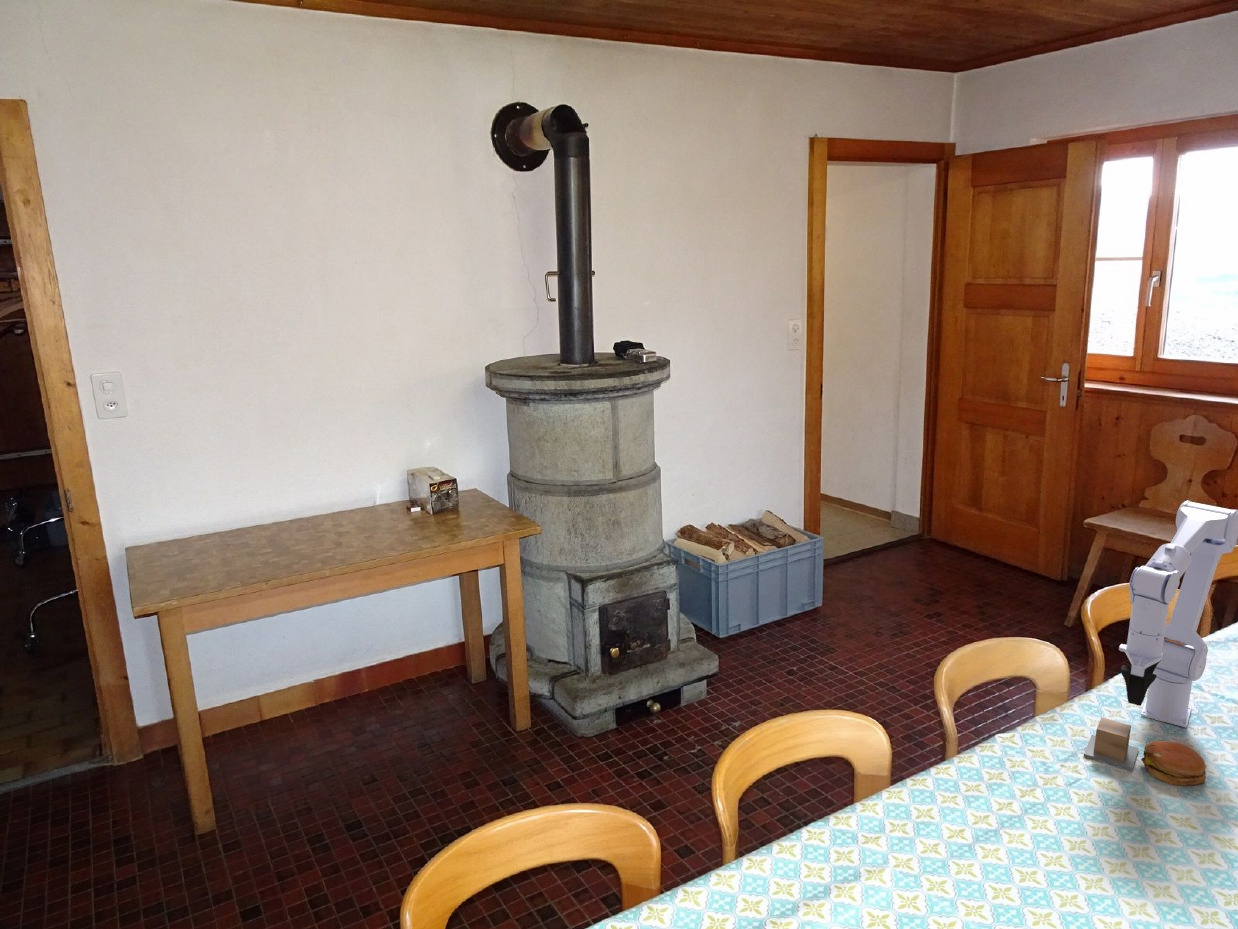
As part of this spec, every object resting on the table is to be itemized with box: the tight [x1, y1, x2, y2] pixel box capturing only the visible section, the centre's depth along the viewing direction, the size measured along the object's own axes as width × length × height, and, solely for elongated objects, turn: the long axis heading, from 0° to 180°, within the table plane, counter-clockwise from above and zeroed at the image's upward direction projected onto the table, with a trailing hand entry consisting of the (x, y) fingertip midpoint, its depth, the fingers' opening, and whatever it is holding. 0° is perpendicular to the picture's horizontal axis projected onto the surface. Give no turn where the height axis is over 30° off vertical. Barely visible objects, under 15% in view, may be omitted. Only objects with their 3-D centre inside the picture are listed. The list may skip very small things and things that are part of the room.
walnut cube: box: [1094, 716, 1132, 761], centre depth 164 cm, size 5×5×5 cm
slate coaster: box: [1083, 734, 1140, 772], centre depth 165 cm, size 8×8×1 cm
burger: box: [1140, 740, 1207, 787], centre depth 158 cm, size 10×9×5 cm
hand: (1137, 695), depth 165 cm, fingers open, 7 cm apart
